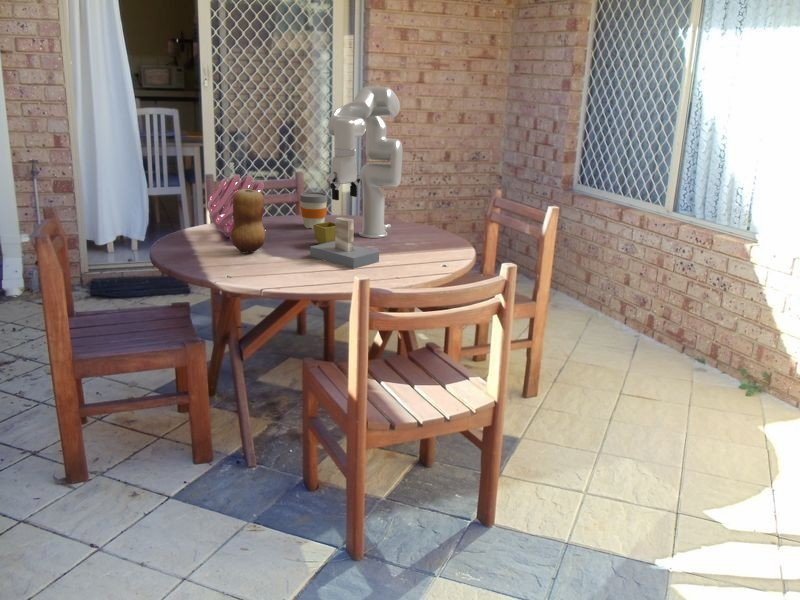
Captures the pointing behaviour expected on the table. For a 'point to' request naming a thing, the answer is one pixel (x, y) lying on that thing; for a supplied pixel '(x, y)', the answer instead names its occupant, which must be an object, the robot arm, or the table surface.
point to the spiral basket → (228, 209)
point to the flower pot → (324, 232)
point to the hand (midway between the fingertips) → (344, 198)
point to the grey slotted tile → (344, 255)
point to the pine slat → (344, 234)
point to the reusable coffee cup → (313, 208)
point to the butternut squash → (248, 220)
